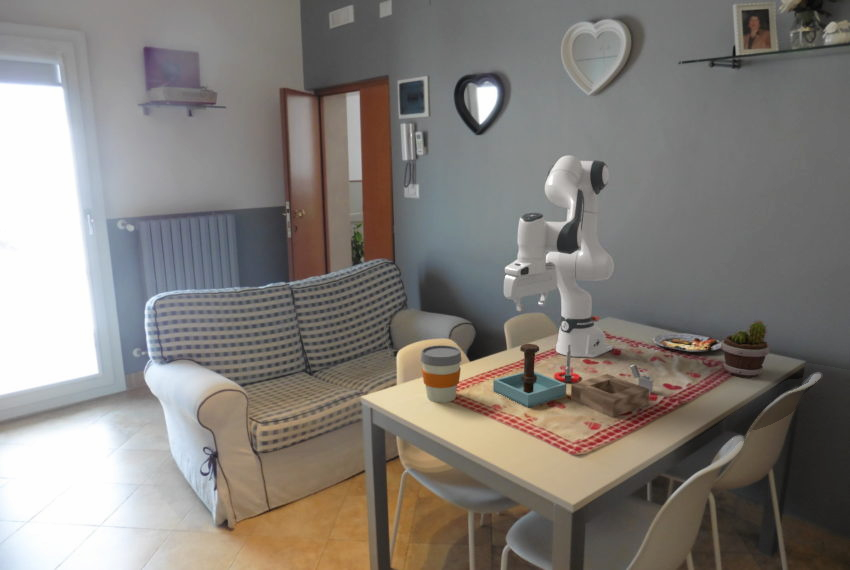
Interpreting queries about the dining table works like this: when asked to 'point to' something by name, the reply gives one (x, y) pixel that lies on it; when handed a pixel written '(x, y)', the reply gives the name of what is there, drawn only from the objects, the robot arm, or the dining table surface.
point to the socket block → (610, 395)
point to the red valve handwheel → (567, 372)
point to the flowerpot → (746, 351)
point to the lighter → (642, 378)
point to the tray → (542, 392)
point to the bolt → (529, 367)
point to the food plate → (696, 346)
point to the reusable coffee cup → (441, 372)
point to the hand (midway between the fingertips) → (531, 308)
